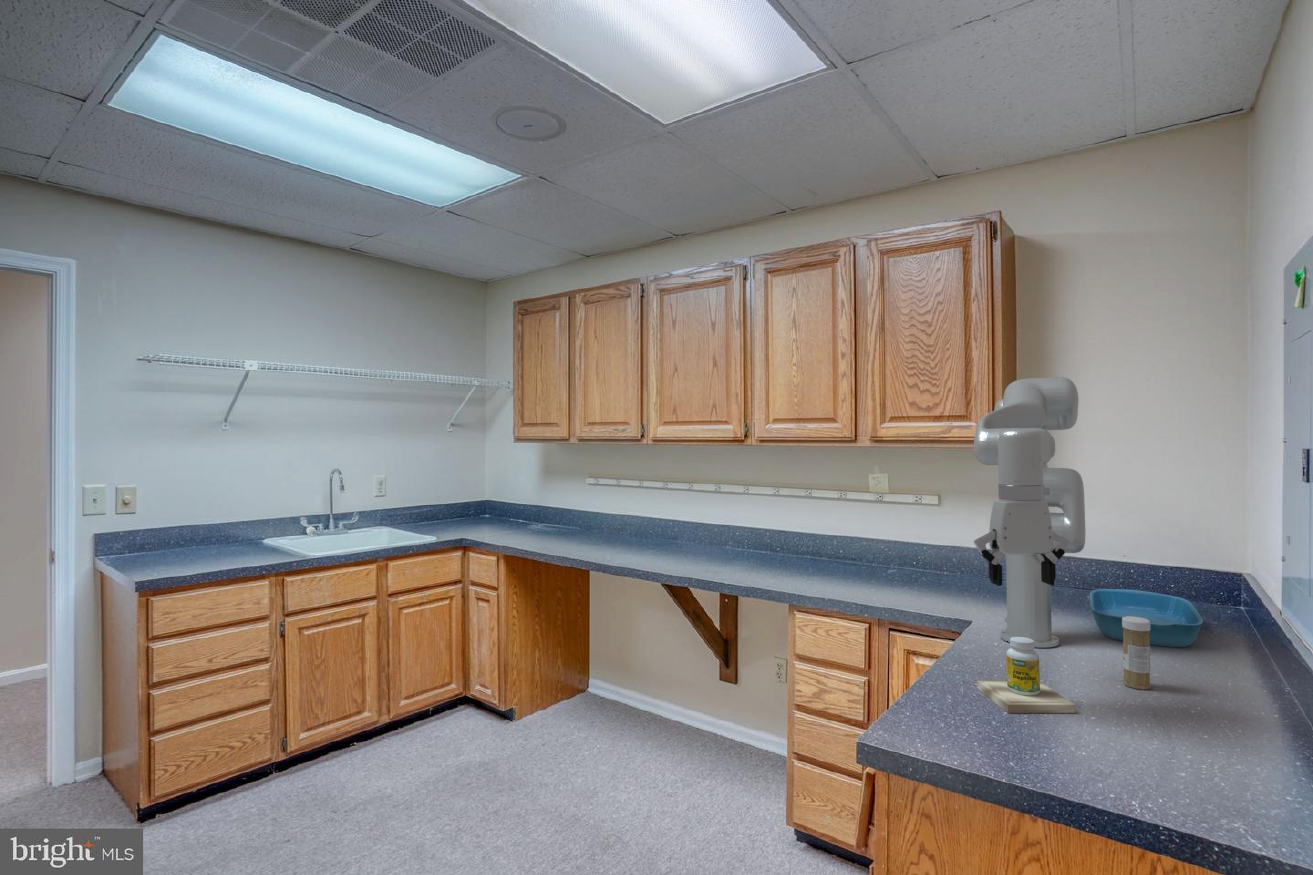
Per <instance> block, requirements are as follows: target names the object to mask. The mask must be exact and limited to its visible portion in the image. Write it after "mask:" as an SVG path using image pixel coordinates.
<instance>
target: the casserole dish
mask: <svg viewBox="0 0 1313 875" xmlns="http://www.w3.org/2000/svg"><path fill="white" fill-rule="evenodd" d="M1089 602H1090V604H1089V605H1090V608H1091V611H1092V616H1093V618H1094V620H1095V623H1096V626H1097V627H1098V629H1099V630H1100V631H1101V632H1102V633H1103V634H1104V635H1105V636H1106V637H1109V639H1113V640H1117V641H1122V642H1123V627H1122V618H1123V617H1127V616H1132V617H1140V618H1145V619H1147V620H1149V621H1150V633H1149V644H1150V646H1158V645H1160V646H1159V647H1167V646H1169V647H1168V648H1185V647H1189V646H1191V645H1192V644H1193V643H1194V642H1195V641H1196V639H1197V637H1198V636H1199V632H1200V629H1201V627H1202V625H1203V624H1204V620H1203V617H1202V615H1200V613H1199V611H1198V610H1197V609H1196V607H1195V606H1194V604H1193V603H1192V602H1191V601H1190V600H1187V599H1185V598H1183V597H1180V596H1174V595H1169V594H1164V593H1159V592H1153V591H1152V592H1151V591H1146V590H1139V589H1124V588H1123V589H1122V588H1121V589H1120V588H1116V589H1114V588H1097V589H1093V590H1091V591H1090V594H1089Z"/></svg>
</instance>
